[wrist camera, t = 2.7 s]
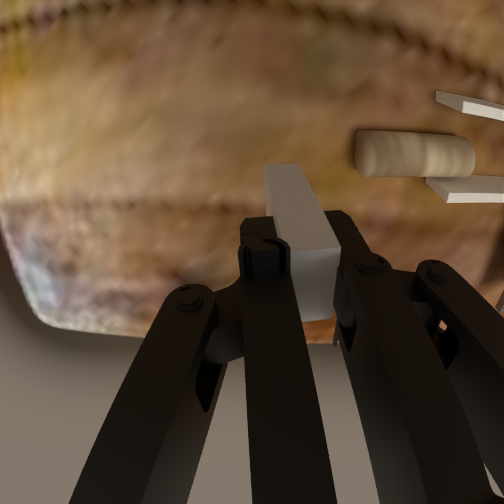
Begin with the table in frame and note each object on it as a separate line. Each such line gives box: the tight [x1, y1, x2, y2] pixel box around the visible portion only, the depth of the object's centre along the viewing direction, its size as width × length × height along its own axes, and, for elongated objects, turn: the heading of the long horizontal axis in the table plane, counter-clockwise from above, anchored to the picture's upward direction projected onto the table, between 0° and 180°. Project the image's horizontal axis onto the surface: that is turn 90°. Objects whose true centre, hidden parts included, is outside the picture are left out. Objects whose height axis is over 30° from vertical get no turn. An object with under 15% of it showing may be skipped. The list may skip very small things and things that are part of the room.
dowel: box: [354, 130, 475, 177], centre depth 20 cm, size 9×3×3 cm
